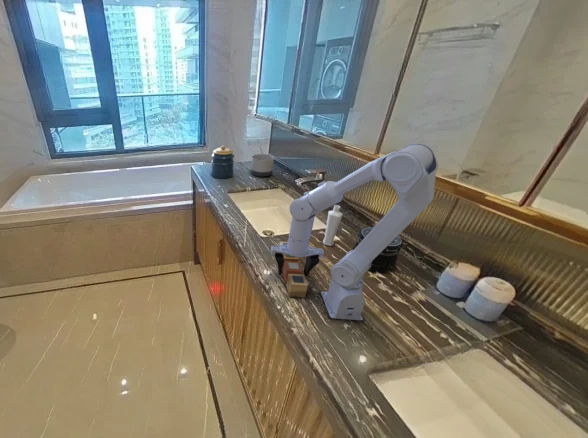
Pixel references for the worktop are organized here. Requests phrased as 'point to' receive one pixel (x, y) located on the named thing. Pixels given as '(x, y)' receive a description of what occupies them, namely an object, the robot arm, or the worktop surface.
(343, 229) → the worktop surface
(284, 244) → the cream block
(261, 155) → the planter
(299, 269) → the terracotta block
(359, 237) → the container
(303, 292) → the maple block
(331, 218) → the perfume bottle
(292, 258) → the beech block
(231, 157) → the canister
